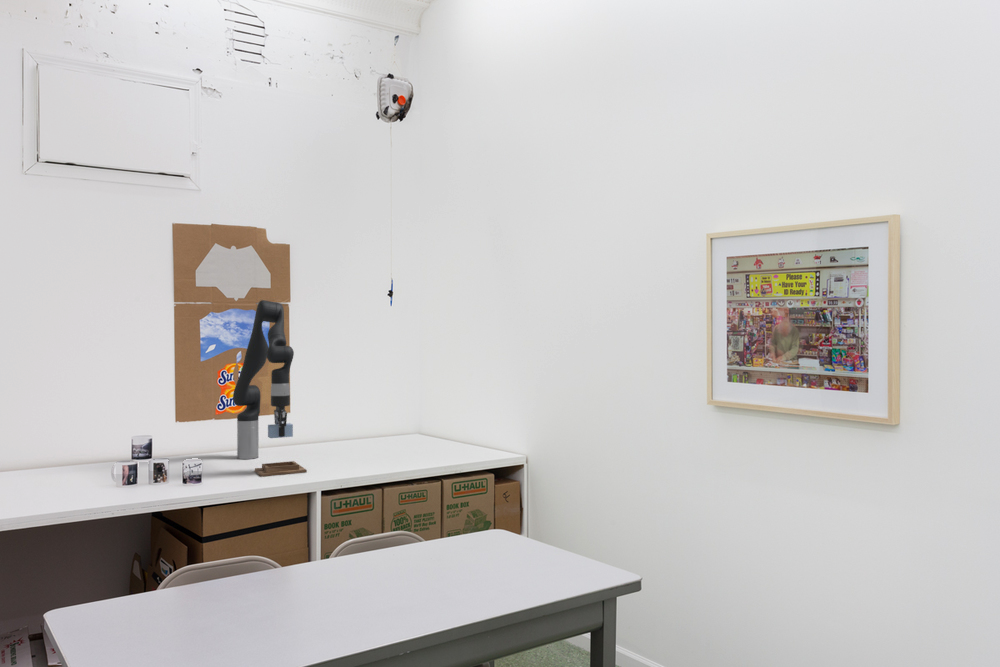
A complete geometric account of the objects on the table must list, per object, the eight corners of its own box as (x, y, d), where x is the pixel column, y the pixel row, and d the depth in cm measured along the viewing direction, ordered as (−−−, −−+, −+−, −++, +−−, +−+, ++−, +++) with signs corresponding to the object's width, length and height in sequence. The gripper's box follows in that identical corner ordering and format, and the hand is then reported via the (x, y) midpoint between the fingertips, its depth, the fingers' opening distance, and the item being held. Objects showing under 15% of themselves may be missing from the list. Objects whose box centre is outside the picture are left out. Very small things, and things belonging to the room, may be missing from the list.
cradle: (254, 470, 292) (254, 463, 292) (298, 466, 300) (298, 459, 300) (260, 476, 279) (260, 469, 279) (306, 472, 288) (306, 465, 288)
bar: (290, 435, 294) (290, 423, 294) (292, 436, 290) (292, 424, 290) (267, 436, 289) (267, 424, 289) (270, 438, 286) (270, 426, 286)
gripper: (293, 395, 285) (293, 437, 285) (285, 392, 298) (285, 433, 298) (274, 396, 282) (274, 438, 282) (267, 393, 294) (267, 434, 294)
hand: (280, 435), depth 290 cm, fingers closed on bar, 4 cm apart
